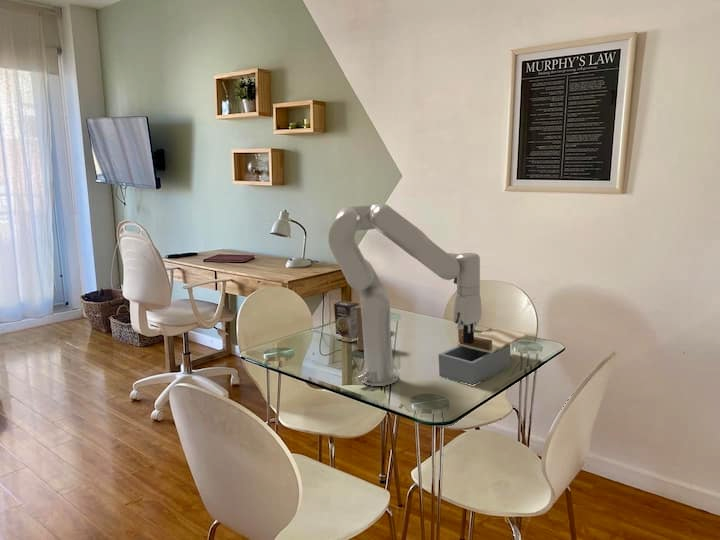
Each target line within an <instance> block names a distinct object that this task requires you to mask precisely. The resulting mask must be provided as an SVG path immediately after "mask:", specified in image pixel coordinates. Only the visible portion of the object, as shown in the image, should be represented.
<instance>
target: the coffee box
mask: <svg viewBox="0 0 720 540" xmlns="http://www.w3.org/2000/svg"><path fill="white" fill-rule="evenodd" d="M359 305H360V302H355V301H354V302H353V301H347V300H342V301H338V302H335V303H334V304H333V307H334V308H333V309H334V321H335V322H334V323H335V325H334V326H335V335H336V334H339V335H341V336H343V337H346V338H349V339H351V340H352V339H354V338H357V337H358V335H357V321H356V306H359Z"/></svg>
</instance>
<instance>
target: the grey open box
mask: <svg viewBox="0 0 720 540" xmlns="http://www.w3.org/2000/svg"><path fill="white" fill-rule="evenodd" d="M511 357H512V356H511V344H510V345H508V346H506V347H504V348H502V349H500V350H498V351H496V352H493V353H487V352H483V351H479V350H475V349H471V348H467V347H463V346H459V345H456V346H455V347H451V348H449V349H447V350H445V351H443V352H440V353H438V370H439V371H438V373H439V377H440V376H441V378H443V377H444V378H443V379H446V378H448V379H447V380H450V379H451V380H450V381H453V380H454V381H453V382H456V381H458V382H457V383H459V382H463V383H467V384H471V385H474V384H477V383H479V382H481V381H483V380H485V379H487V378H489V379H490V377H491V378H493V377H494V376H497V375H498V374H500V373H502V372H503V371H506V370H507V369H510V368H511V366H512V365H511ZM492 376H493V377H492ZM487 380H488V379H487ZM485 381H486V380H485ZM483 382H484V381H483ZM463 383H462V384H463ZM481 383H482V382H481Z"/></svg>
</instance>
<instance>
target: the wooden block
mask: <svg viewBox="0 0 720 540" xmlns="http://www.w3.org/2000/svg"><path fill="white" fill-rule="evenodd" d="M356 321H357V335H358V341H356V342H357V343H356V345H357V347H356V348H357V351H358V350H364V343H363V330H362V316H361V304H359V306H356Z"/></svg>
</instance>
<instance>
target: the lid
mask: <svg viewBox="0 0 720 540" xmlns="http://www.w3.org/2000/svg"><path fill="white" fill-rule="evenodd" d="M459 336H460V342H459V341H458V342H457V345H456V346H463V347H467V348H471V349H475V350H479V351H483V352H487V353H493V352H496V351H498V350H500V349H502V348H504V347H506V346H508V345H510V346H511V344H512V345H513V344H514V343H516V342H518V341H521V340H522V339H524V338H526V337H527V333H522V332H517V331H511V330H505V329H502V328H496V327H492V328H491V327H490V328H489V329H487V330H484V331H481V332H480V333H477V334H474V343H472V344H468V343H464V342H463V334H462V335H459Z"/></svg>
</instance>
